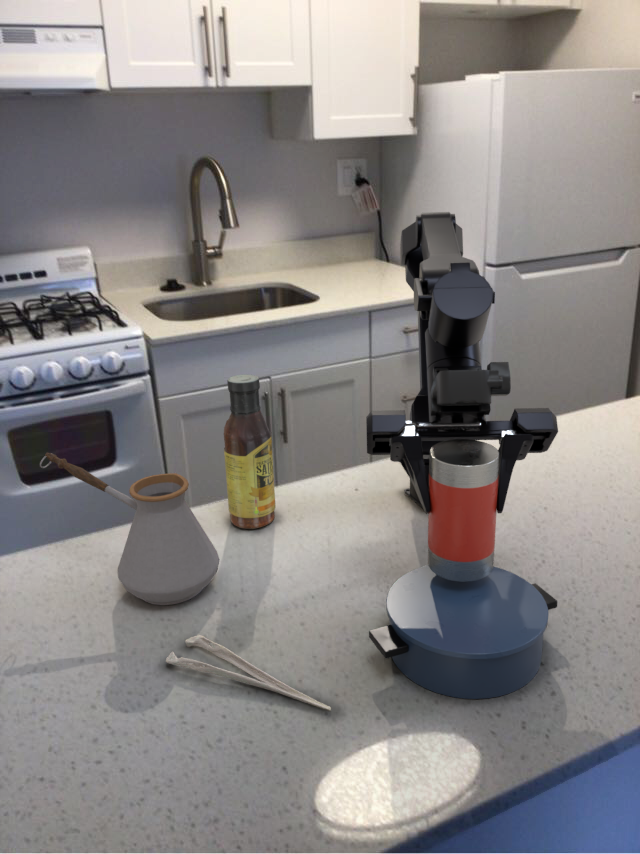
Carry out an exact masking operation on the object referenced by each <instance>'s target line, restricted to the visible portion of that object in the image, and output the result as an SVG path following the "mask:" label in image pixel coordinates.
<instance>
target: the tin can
mask: <svg viewBox="0 0 640 854" xmlns="http://www.w3.org/2000/svg"><path fill="white" fill-rule="evenodd" d="M498 472H499V451H498V448H497V447H496V446H494V445H493V444H491V443H488V442H485V441H482V440H469V439H454V440H447V441H442V442H439V443H437V444H435V445H434V446H432V448H431V449H430V460H429V495H430V514H427V565H428V566H429V568H430V569H431V570H432V572H434V573H435V574H436V575H438V576H440V577H442V578H445V579H448V580H452V581H460V582H468V581H475V580H479V579H482V578H484V577H486V576H488V575H489V574H490V573H491V572H492V570H493V566H494V562H495V560H494V559H495V547H496V529H497V514H498V513H497V494H498Z"/></svg>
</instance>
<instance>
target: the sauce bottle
mask: <svg viewBox="0 0 640 854" xmlns="http://www.w3.org/2000/svg"><path fill="white" fill-rule="evenodd" d="M226 381H227V382H226V383H227V390H228V392H229V403H230V406H229V407H230V408H229V411H230V415H229V418H228V419H227V420H226V422H225V425H224V427H223V442H224V447H223V453H224V467H225V479H226V480H225V481H226V493H227V503H228V504H227V505H228V512H229V515H230V516H229V517H230V522H231V523H232V524H233V525H234V526H235V527H237V528H239V529H248V530H255V529H256V530H257V529H259V528H263V527H266V526H267V525H269V524H271V523H273V521H274V520H275V517H276V516H275V515H276V514H275V510H276V492H275V491H276V490H275V477H274V475H275V474H274V458H273V456H274V455H273V441H272V439H273V438H272V434H271V431H270V429H269V426H268V424H267V422H266V420H265V418H264V415H263V413H262V410H261V407H262V406H261V405H260V404H261V403H260V392H259V390H260V388H261V384H260V378H259V376H257V375H255V374H247V373H246V374H237V375H233V376H230V377H228V379H227V380H226Z"/></svg>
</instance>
